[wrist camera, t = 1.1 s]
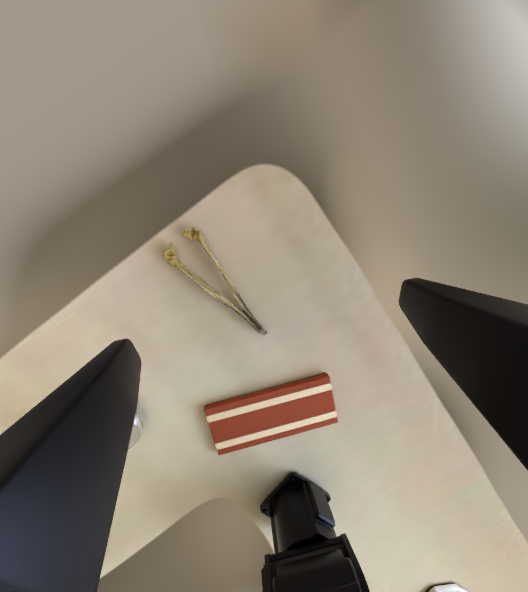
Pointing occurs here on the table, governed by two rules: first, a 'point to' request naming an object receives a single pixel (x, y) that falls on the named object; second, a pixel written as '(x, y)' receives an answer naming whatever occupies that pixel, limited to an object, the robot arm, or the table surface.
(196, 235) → the tongs
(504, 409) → the robot arm
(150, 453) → the table surface
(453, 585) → the wineglass
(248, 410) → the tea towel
